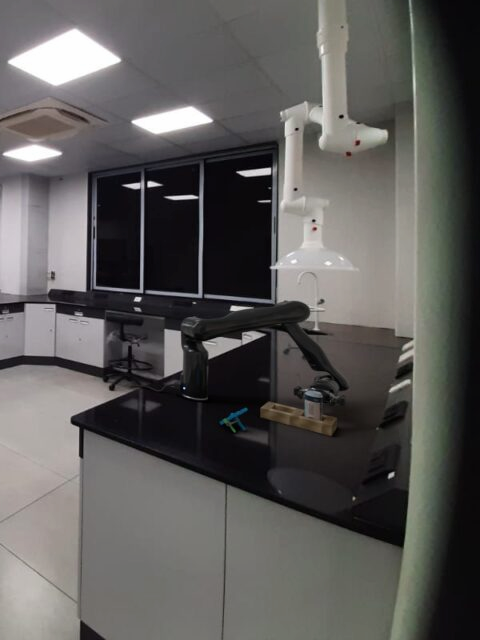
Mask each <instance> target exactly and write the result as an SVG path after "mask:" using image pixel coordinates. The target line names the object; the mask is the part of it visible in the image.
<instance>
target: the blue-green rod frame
mask: <svg viewBox="0 0 480 640" xmlns="http://www.w3.org/2000/svg"><path fill="white" fill-rule="evenodd" d="M247 411H249V409H248V408H247V407H244V408H242V409H240V410H238V411H235V412H234V413H233V412H231V413H230V415H229V416H228V417H226V418H223V419H222V420H220V421H219V424H220V425H221V426H222V425H224V424H225V425H226V427H229V428H230V429H231V431H232V432H233V433H237V431H236V429H235V428H234V427H233V424H237V425H238V426H239V427H240V429H241V430H242V431H244V432H245V431H246V430H247V428H246V427H245V426H244V424H243V423H242V422H241V420H240V418H239V417H240V416H241V415H242V414H244V413H246V412H247ZM232 420H233V421H232Z"/></svg>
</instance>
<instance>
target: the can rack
mask: <svg viewBox="0 0 480 640" xmlns="http://www.w3.org/2000/svg"><path fill="white" fill-rule="evenodd" d="M259 411H260V412H259V413H260V416H259V417H260V418H261V419H266V420H269V421H272V422H276V423H280V424H284V425H288V426H291V427H295V428H299V429H303V430H307V431H311V432H315V433H318V434H321V435H325V436H329V437H332V436H333V435H334V433H335V432H336V430H337V428H338V417H336V416H331V415H327V414H323V413H322V421H319V420H315V419H311V418H307V417H304V414H305V409H302V408H297V407H294V406H289V405H285V404H280V403H276V402H272V401H267V402H266V403H265V404H263V405H262V406H261V407H260V410H259Z"/></svg>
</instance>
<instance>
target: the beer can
mask: <svg viewBox="0 0 480 640" xmlns="http://www.w3.org/2000/svg"><path fill="white" fill-rule="evenodd" d="M304 394H305V397H304V410H305V414H304V417H307V418H311V419H315V420H319V421H322V414H323V407H324V406H323V405H324V403H323V396H322V394H321V393H320V392H317V391H312V390H307V391H306V393H305V392H304Z"/></svg>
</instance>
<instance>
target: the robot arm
mask: <svg viewBox="0 0 480 640" xmlns="http://www.w3.org/2000/svg"><path fill="white" fill-rule="evenodd" d="M310 316H311V308H310V307H309V306H308V305H307V304H306V303H305V302H302V301H300V300H287V301H279V302H277V303H275V305H274V306H263V307H252V308H243V309H238V310H234V311H231V312H229V313H228V314H227V315H225V316H223V317H219V318H210V319H208V318H200V317H196V316H188V317H186V318H184V319H183V320H182V322H181V324H180V347H181V349H182V372H181V373H180V380H178V381H175V382H173V383H168V384H165V385H164V386H163V387H162V388H161V389H156V388H154V387H152V386H148V385H142V384H141V385H136V384H135V385H130V388H134V389H135V388H136V389H137V388H139V389H141V388H143V387H145V388H143V389H147V390H151V391H153V392H155V393H162V392H164V391H165V390H166V389H167V388H168V387H173V389H175V390H179V397H183V398H184V399H186V400H190V401H194V402H207V401H208V400H209V398H208V397H209V395H208V394H209V393H208V392H209V351H208V349H207V348H206V347H205V345H204V343H203V342H208V341H211V340H214V339H217V338H221V337H224V336H230V335H237V334H238V335H239V334H242V333H243V334H244V333H249V332H256V331H258V330H264V329H267V328H271V327H274V326H278V325H280V326H281V327H282V329H284V330H285V332H286V333H287V334H288V336H289V337H290V338H291V339H292V341H293V342H294V343H295V345H296V346H297V347H298V349H299V350H300V352H301V354H302V355H303V357H304V359H305V360H306V362H307V364H308V365H309V368H310V369H311V370H312V371H314V372H321V373H323V372H325V373H327V374H322V375H317V376H315V377H314V378H313V383H312V384H311V385H310V386H309V388H303V386H301V385H297V386H295V387H294V388H293V396H296V397H297V398H298V399H299V400H303V399H305V393H306V391H307V390H312V391H317V392H320V393H321V394H322V396H323V404H329V405H330V407H334V406H338V405H340V406H341V407H346V403H347V396H346V395H344V394H341V395H339V396H338V394H339V392H344V391H345V392H346V391H348V390H349V388H350V381H348V379H347V378H346V377H345V376H344V375H343V374H342V373H341V372H340V371H339V370H338V368H337V367H335V365H334V364H332V361H331V360H330V358H329V357H328V355H327V354H326V352H325V350H324V349H323V347H322V346H321V345H320V344H319V343H318V342H317V341H315V340H314V339H313V338H312V337H311V336H310V335H309V334H308V333H306V331H305V330H304V329H303V328H302V327H301V326H300V323H303V322H305V321H307V320H308V319H309V318H310Z"/></svg>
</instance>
